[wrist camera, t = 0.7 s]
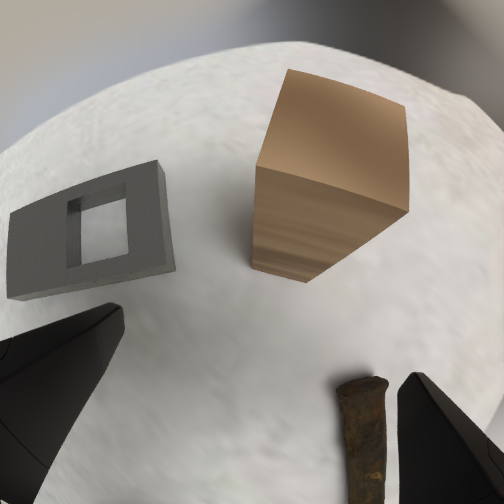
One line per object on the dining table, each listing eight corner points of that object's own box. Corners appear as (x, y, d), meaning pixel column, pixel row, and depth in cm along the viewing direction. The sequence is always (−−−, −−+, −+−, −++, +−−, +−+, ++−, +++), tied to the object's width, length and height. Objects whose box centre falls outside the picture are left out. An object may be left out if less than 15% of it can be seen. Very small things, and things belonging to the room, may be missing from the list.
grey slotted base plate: (165, 173, 23) (157, 159, 21) (176, 271, 21) (167, 264, 19) (23, 220, 22) (10, 213, 20) (22, 301, 20) (6, 298, 18)
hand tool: (329, 381, 20) (348, 396, 15) (374, 370, 20) (400, 381, 15) (333, 530, 15) (344, 555, 11) (369, 519, 15) (384, 542, 11)
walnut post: (306, 283, 21) (408, 211, 7) (251, 268, 22) (255, 165, 7) (317, 231, 22) (404, 106, 8) (265, 217, 23) (287, 68, 8)
